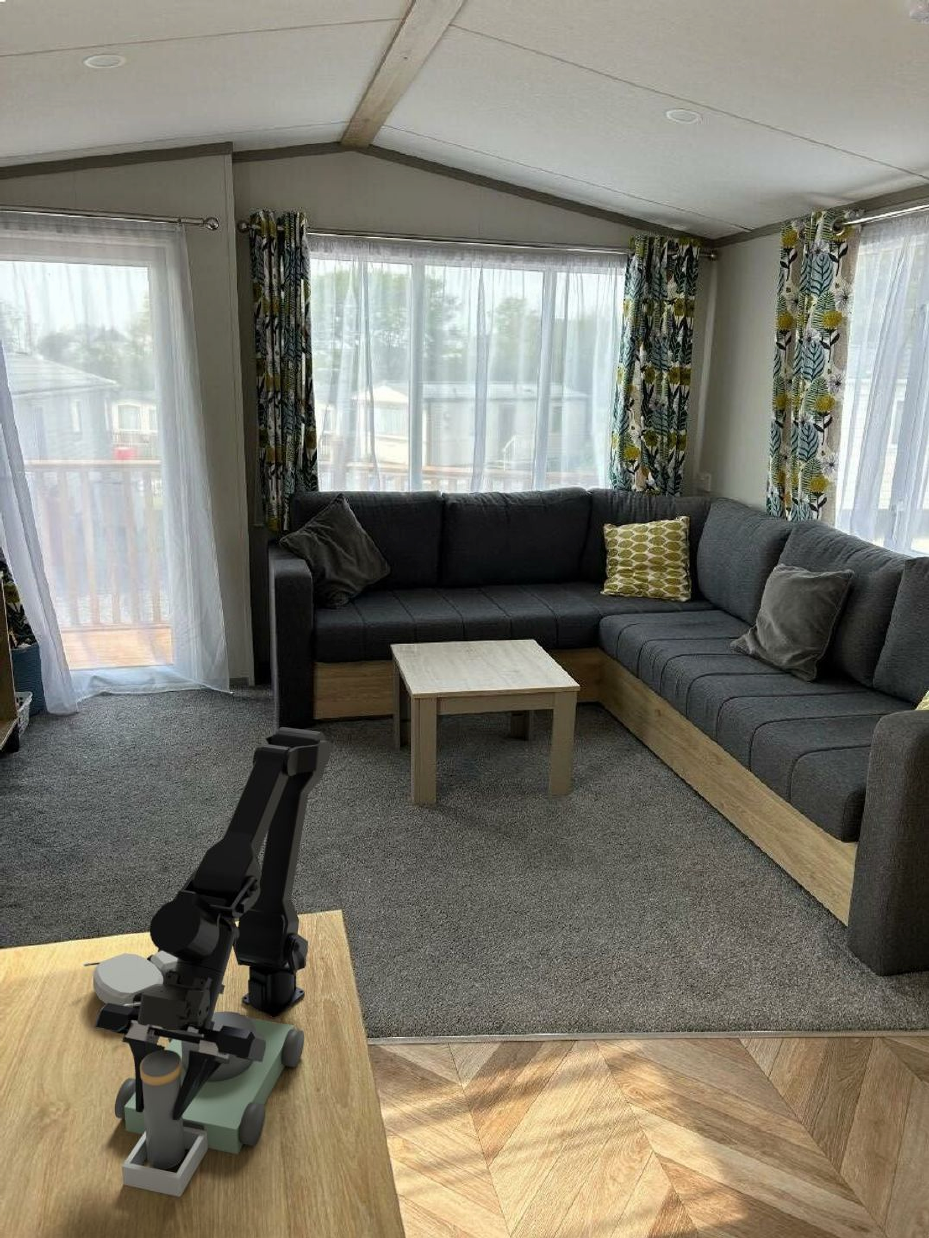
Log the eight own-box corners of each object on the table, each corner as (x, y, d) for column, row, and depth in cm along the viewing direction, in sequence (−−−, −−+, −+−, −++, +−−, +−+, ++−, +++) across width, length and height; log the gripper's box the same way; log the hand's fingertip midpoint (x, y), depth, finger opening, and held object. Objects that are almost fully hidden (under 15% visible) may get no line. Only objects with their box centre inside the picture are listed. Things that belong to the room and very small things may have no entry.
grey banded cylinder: (155, 1137, 114) (149, 1047, 110) (191, 1142, 113) (187, 1051, 110) (139, 1167, 110) (133, 1074, 106) (177, 1172, 109) (171, 1079, 106)
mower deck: (185, 1027, 134) (183, 986, 132) (305, 1049, 131) (304, 1008, 129) (81, 1175, 110) (77, 1127, 108) (223, 1206, 107) (221, 1158, 105)
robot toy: (175, 953, 151) (79, 989, 140) (176, 926, 150) (79, 960, 139) (218, 992, 143) (120, 1033, 132) (219, 964, 142) (120, 1003, 131)
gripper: (97, 942, 110) (44, 1094, 103) (253, 970, 107) (209, 1130, 99) (138, 960, 120) (92, 1101, 113) (282, 987, 116) (245, 1134, 109)
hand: (156, 1116), depth 108 cm, fingers closed on grey banded cylinder, 4 cm apart
